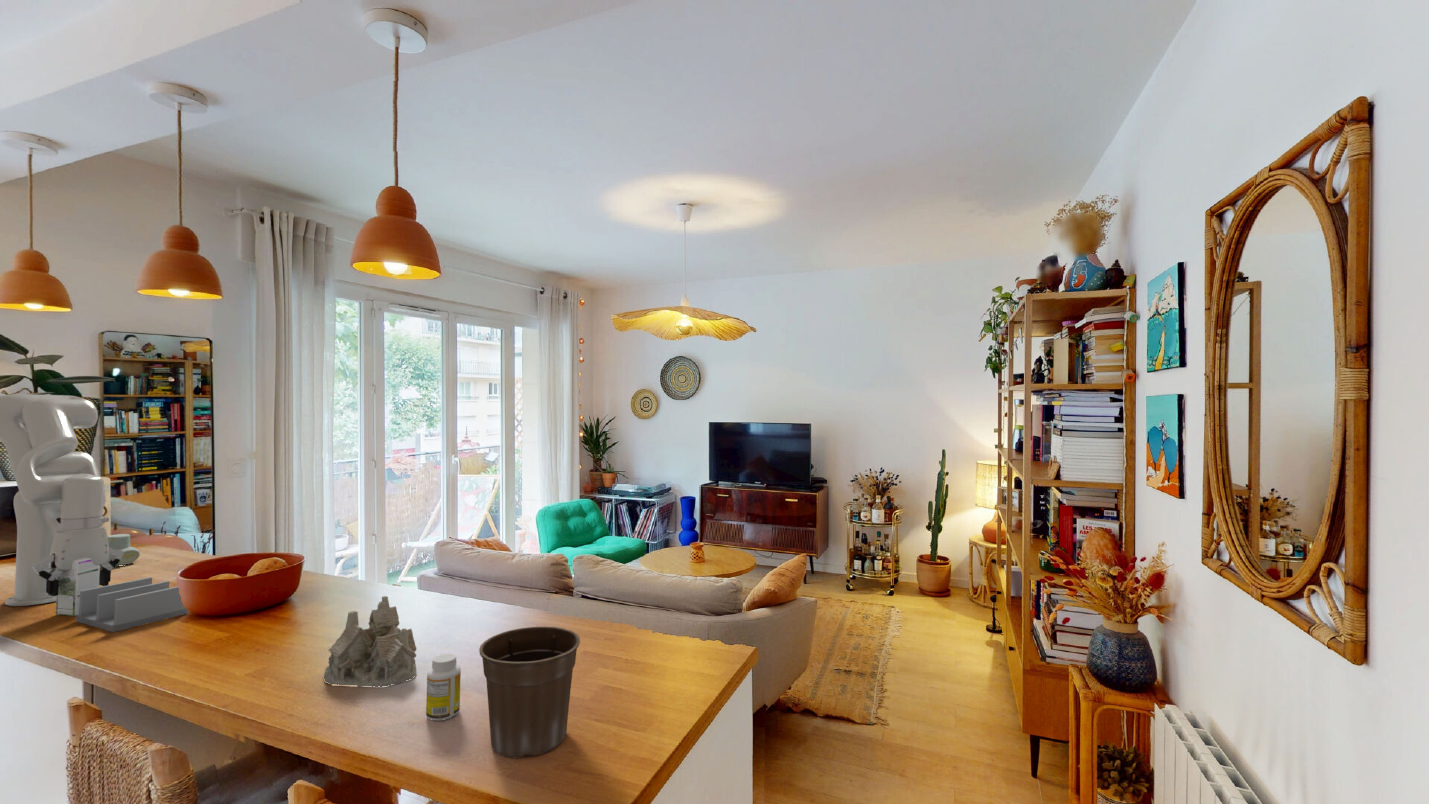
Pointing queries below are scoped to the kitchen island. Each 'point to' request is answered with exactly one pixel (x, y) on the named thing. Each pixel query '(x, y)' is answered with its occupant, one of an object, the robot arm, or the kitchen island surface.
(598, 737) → the kitchen island surface
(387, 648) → the ceramic cottage
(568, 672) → the plant pot
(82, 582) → the syrup box
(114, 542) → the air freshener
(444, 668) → the supplement bottle
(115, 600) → the slot rack
